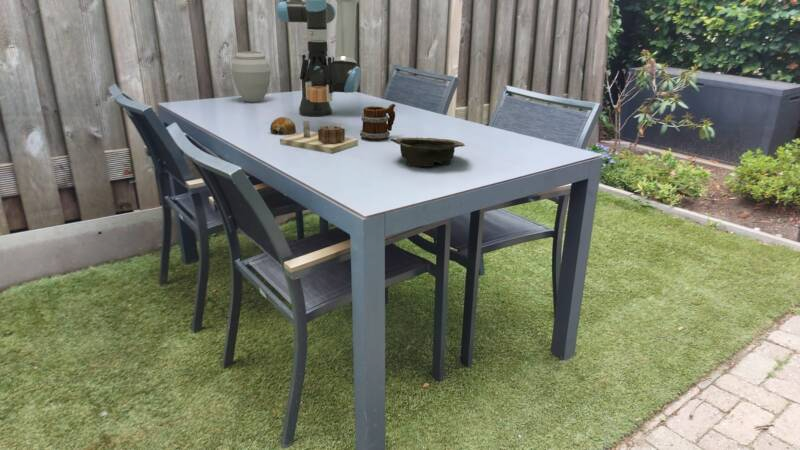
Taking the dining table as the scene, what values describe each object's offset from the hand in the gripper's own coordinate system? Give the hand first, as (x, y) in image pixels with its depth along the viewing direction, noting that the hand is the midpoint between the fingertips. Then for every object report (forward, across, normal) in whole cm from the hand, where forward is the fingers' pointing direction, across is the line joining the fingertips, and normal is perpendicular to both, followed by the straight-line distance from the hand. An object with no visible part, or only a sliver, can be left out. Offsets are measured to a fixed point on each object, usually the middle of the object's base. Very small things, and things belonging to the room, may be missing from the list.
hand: (319, 99), depth 224 cm
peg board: (+13, +12, -16) cm, 24 cm away
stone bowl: (+13, +56, -13) cm, 59 cm away
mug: (+13, +24, +6) cm, 28 cm away
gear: (0, 0, 0) cm, 0 cm away
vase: (+14, -72, +37) cm, 82 cm away
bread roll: (+13, -12, -9) cm, 20 cm away
